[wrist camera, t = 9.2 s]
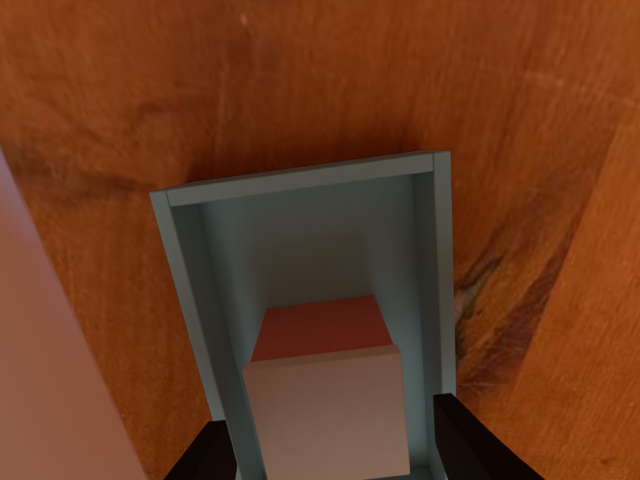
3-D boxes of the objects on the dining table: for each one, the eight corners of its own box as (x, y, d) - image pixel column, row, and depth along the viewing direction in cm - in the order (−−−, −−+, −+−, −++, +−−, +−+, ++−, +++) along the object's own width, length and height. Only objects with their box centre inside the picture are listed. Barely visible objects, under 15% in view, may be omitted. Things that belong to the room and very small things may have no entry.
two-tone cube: (282, 399, 16) (269, 490, 12) (263, 306, 15) (241, 372, 10) (385, 386, 16) (410, 474, 12) (376, 292, 15) (401, 352, 10)
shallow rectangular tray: (258, 482, 18) (247, 546, 15) (184, 182, 14) (147, 192, 11) (436, 462, 18) (459, 524, 15) (421, 150, 13) (451, 150, 10)
